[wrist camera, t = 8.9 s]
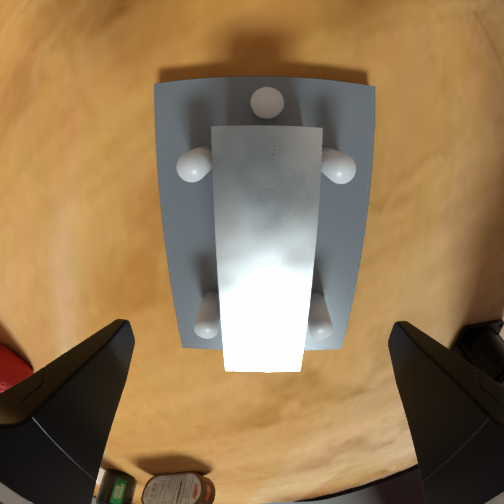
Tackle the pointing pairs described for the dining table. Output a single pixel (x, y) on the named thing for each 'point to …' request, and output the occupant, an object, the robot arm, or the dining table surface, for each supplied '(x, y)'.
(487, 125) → the dining table surface
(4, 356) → the red tomato
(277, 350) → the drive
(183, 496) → the tin
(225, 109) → the grey pegged platform
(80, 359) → the robot arm
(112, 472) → the supplement bottle
